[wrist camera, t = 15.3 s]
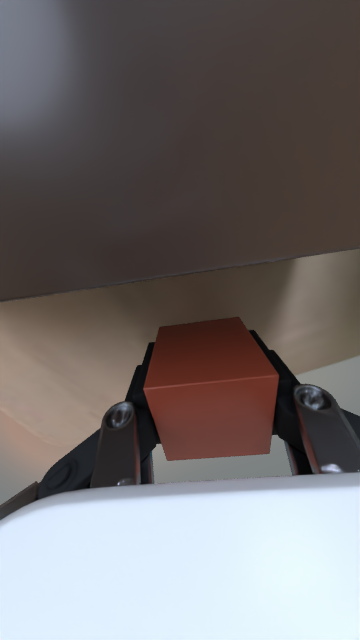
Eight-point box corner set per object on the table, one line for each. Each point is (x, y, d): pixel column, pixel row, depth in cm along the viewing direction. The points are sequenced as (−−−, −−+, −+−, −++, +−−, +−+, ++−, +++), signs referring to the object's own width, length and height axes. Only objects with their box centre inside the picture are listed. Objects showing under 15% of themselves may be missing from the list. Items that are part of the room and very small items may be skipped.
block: (172, 384, 12) (166, 461, 8) (158, 326, 10) (142, 389, 6) (239, 377, 12) (270, 454, 8) (238, 316, 10) (280, 375, 6)
